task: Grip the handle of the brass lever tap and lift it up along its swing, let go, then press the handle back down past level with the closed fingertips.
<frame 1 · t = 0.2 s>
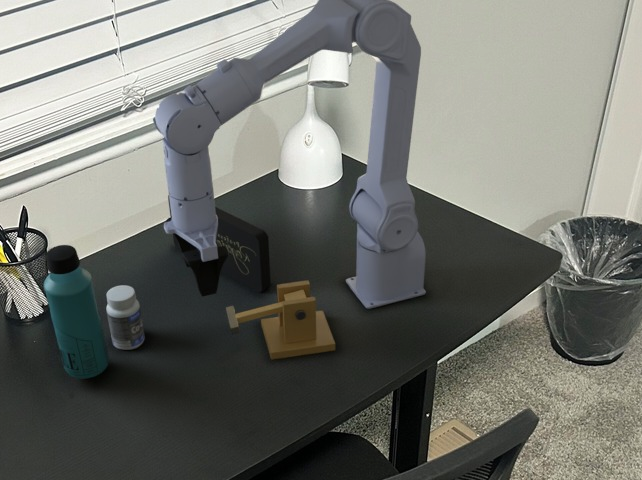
hand: (201, 278, 125), 10 cm above the table, tool pointing down, fingers open, 7 cm apart
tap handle: (267, 310, 126), point 5 cm above the table, hinge at -8.0°
pill bottle: (129, 341, 132), on the table
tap: (297, 337, 129), on the table
beverage bottle: (88, 374, 127), on the table
nameplate: (220, 267, 145), on the table
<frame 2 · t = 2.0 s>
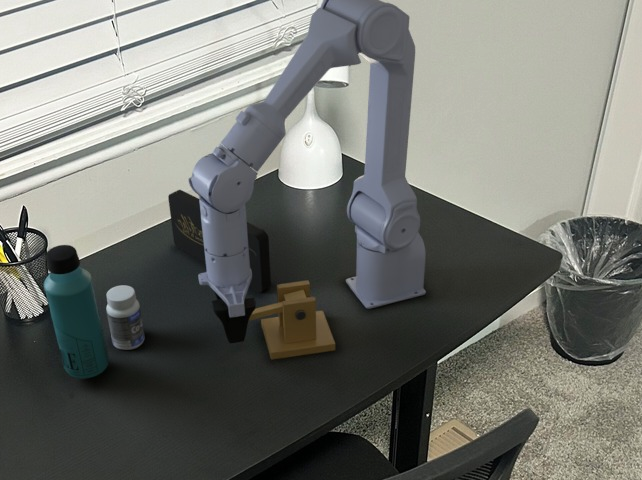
hand: (233, 328, 127), 3 cm above the table, tool pointing down, fingers closed on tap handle, 5 cm apart
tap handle: (267, 310, 126), point 5 cm above the table, hinge at -8.0°, touching gripper
everything else where it was.
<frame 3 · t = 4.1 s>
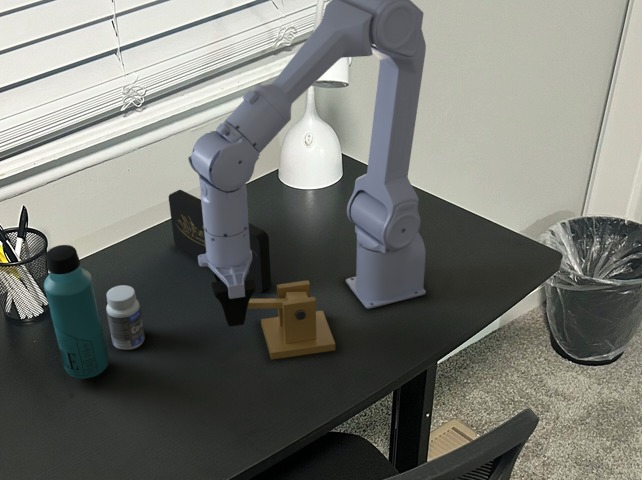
hand: (233, 312, 125), 6 cm above the table, tool pointing down, fingers closed on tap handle, 5 cm apart
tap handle: (267, 303, 125), point 7 cm above the table, hinge at 9.1°, touching gripper
everything else where it was.
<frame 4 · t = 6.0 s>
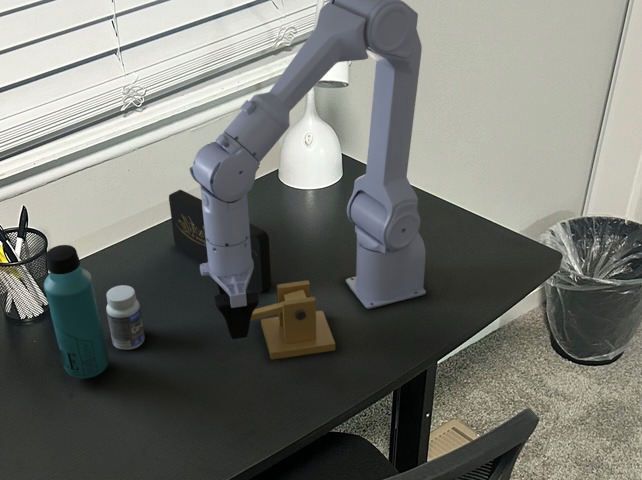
hand: (235, 320, 126), 5 cm above the table, tool pointing down, fingers open, 7 cm apart
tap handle: (267, 311, 126), point 5 cm above the table, hinge at -8.9°
everything else where it was.
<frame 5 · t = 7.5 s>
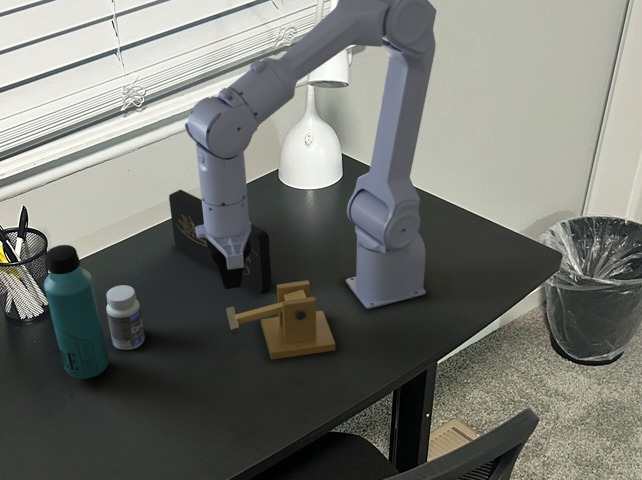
hand: (232, 285, 122), 10 cm above the table, tool pointing down, fingers closed
nothing on the table moved.
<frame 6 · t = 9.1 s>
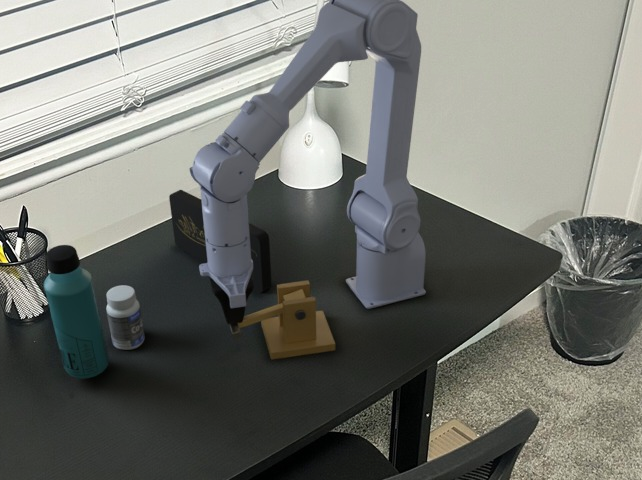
hand: (234, 320, 126), 5 cm above the table, tool pointing down, fingers closed, pressing on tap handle
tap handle: (268, 313, 126), point 5 cm above the table, hinge at -14.1°, touching gripper
everything else where it was.
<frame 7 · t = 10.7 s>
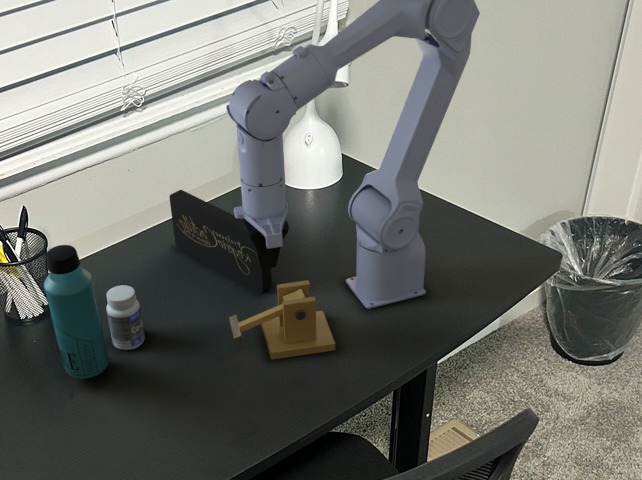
hand: (268, 265, 125), 10 cm above the table, tool pointing down, fingers closed
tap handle: (269, 314, 126), point 5 cm above the table, hinge at -18.9°
everything else where it was.
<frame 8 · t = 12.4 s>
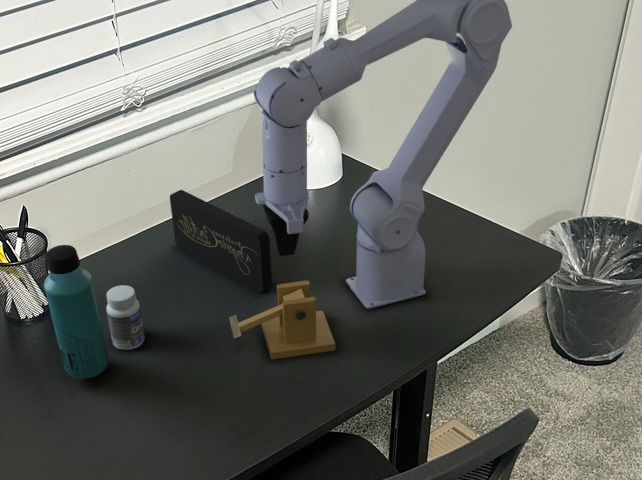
hand: (286, 252, 127), 10 cm above the table, tool pointing down, fingers closed
nothing on the table moved.
at the end: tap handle reached +15° during the clip, -19° at the end; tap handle at -19° (first picture: -8°) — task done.
